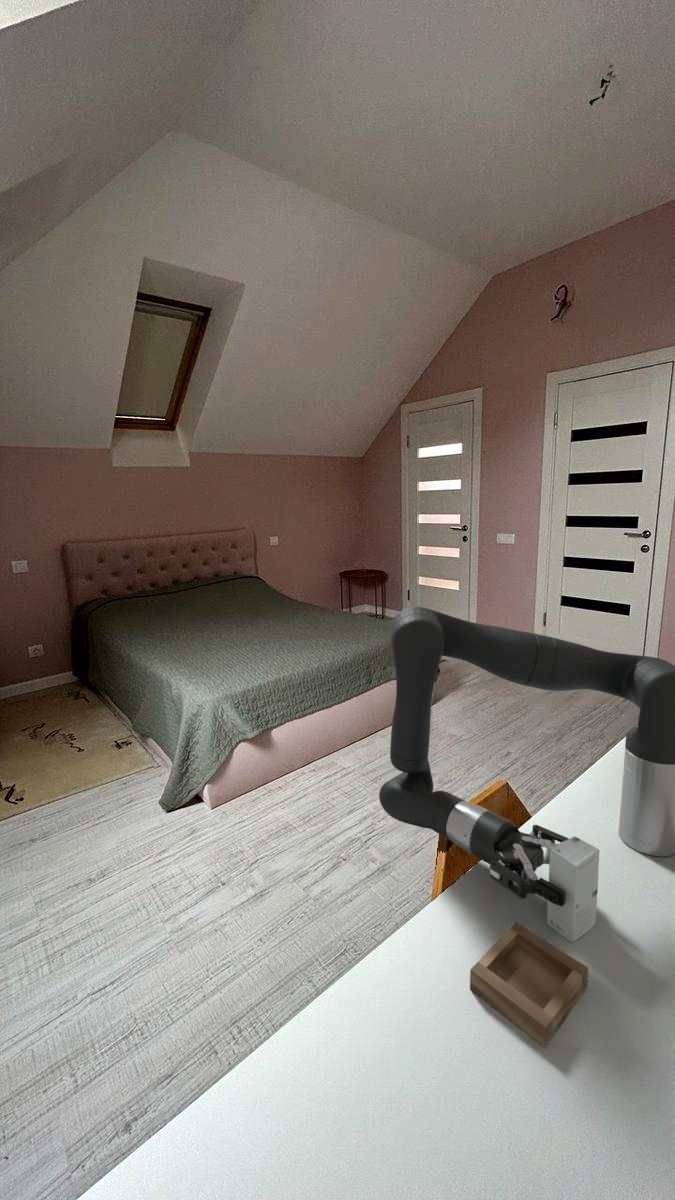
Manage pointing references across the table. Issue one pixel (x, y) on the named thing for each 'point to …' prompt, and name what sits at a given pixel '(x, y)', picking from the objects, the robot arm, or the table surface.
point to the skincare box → (574, 887)
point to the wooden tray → (529, 982)
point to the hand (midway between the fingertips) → (578, 884)
